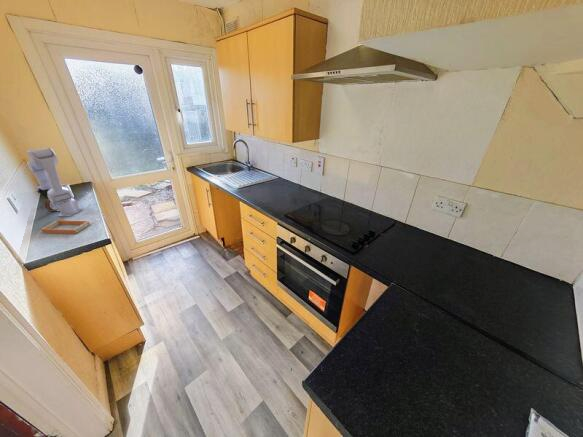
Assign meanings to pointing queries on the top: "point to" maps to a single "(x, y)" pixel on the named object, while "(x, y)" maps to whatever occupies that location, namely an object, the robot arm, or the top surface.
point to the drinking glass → (68, 188)
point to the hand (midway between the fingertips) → (55, 199)
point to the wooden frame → (49, 229)
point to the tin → (50, 205)
